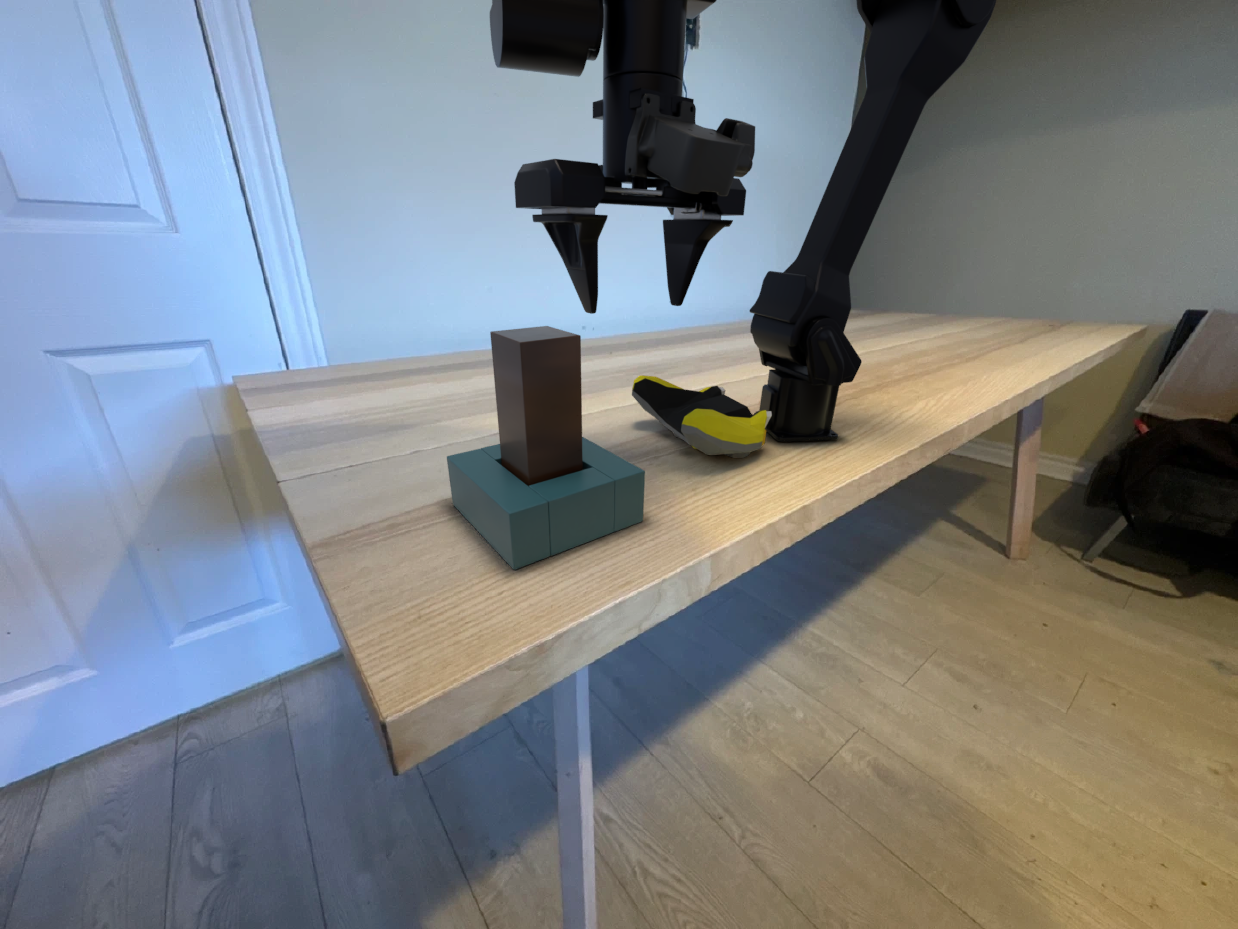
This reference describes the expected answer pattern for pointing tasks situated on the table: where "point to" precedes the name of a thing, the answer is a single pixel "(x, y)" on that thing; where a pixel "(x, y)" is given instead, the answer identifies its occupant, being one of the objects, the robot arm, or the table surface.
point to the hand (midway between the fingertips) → (635, 309)
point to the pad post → (538, 401)
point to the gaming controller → (703, 417)
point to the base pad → (545, 502)
